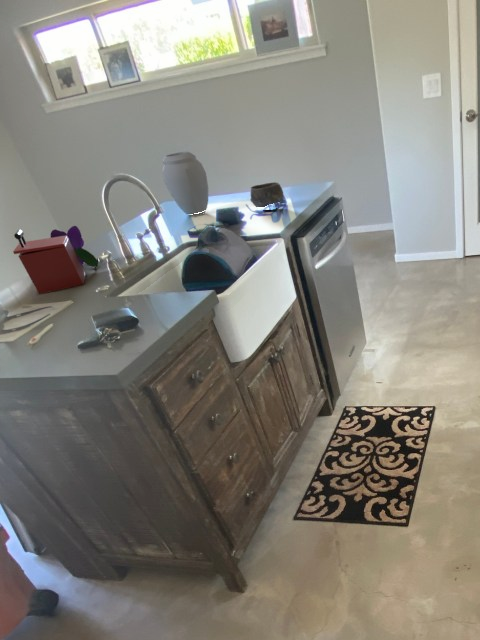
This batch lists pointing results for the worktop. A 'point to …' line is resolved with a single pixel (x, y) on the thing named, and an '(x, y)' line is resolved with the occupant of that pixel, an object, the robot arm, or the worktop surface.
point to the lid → (38, 243)
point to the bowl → (266, 194)
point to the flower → (77, 245)
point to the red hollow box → (53, 268)
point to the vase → (186, 182)
